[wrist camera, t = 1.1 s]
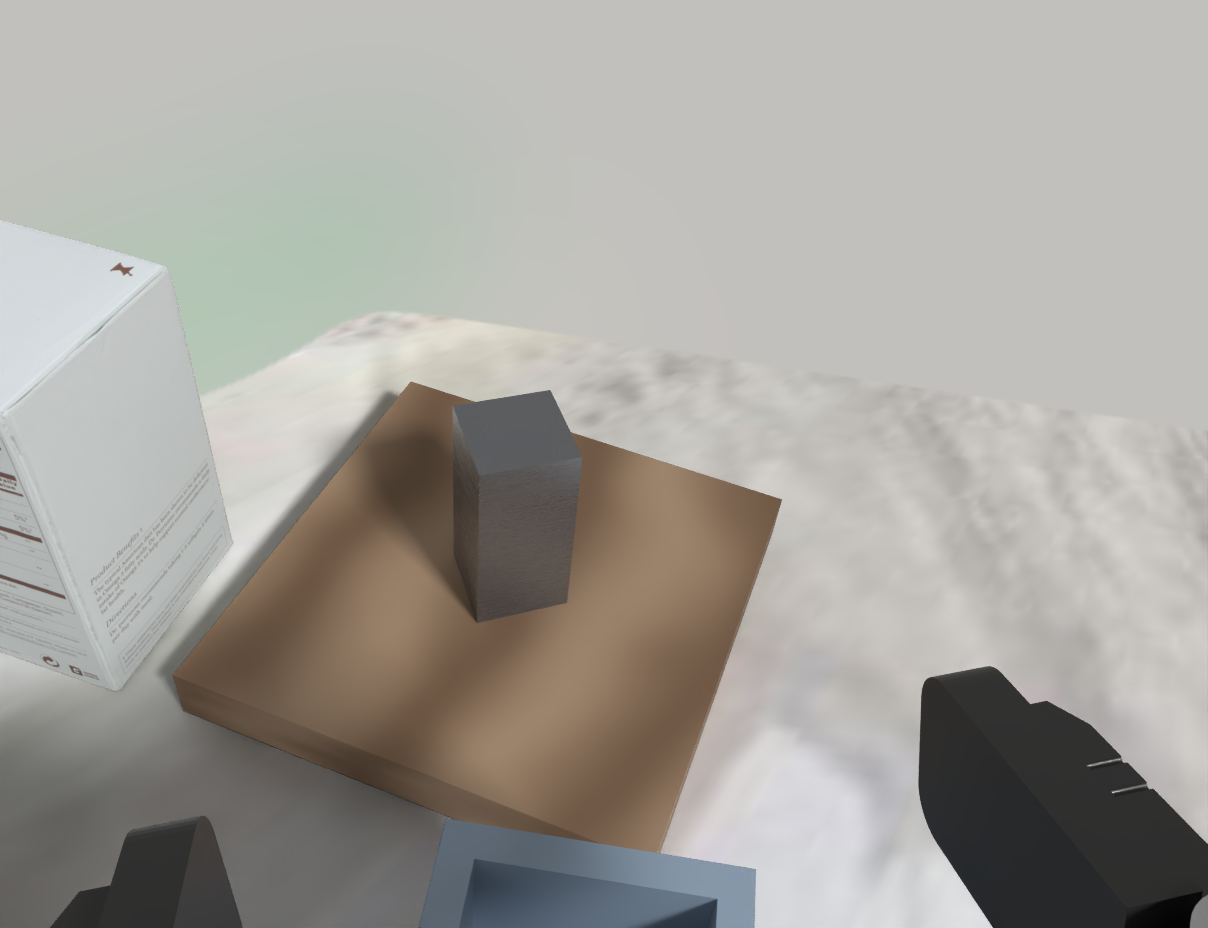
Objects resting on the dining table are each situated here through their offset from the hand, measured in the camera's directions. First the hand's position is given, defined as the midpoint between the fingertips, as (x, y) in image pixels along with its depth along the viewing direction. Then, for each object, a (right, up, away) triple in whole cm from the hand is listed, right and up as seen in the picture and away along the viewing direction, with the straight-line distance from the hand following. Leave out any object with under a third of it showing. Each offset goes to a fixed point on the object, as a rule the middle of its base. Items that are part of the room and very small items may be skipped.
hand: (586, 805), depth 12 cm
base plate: (-3, -2, +27) cm, 28 cm away
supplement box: (-18, -1, +27) cm, 32 cm away
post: (-3, 0, +26) cm, 26 cm away
